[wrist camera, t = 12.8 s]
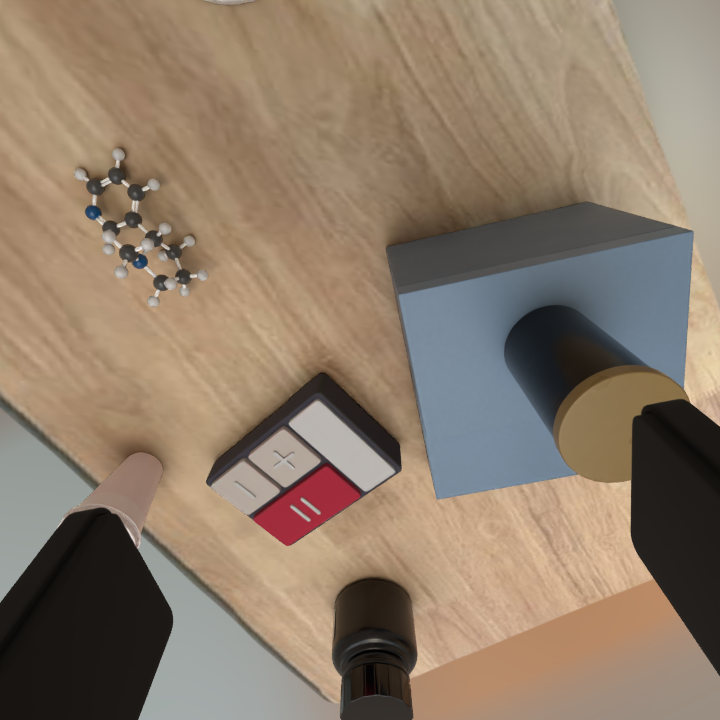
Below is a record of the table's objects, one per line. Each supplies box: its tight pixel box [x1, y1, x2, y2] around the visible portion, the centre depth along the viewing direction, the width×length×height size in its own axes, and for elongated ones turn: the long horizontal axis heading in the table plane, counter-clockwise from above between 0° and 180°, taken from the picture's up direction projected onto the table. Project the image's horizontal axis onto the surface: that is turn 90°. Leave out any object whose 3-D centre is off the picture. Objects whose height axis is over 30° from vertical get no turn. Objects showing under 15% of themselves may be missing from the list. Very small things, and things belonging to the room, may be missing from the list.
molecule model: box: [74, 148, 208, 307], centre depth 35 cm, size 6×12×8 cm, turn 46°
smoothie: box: [57, 452, 163, 549], centre depth 41 cm, size 6×6×14 cm
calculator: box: [206, 373, 401, 546], centre depth 45 cm, size 11×4×15 cm
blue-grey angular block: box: [386, 202, 694, 500], centre depth 37 cm, size 22×16×13 cm
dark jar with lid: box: [504, 305, 690, 483], centre depth 24 cm, size 6×6×9 cm
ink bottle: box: [332, 580, 417, 720], centre depth 51 cm, size 10×9×12 cm
